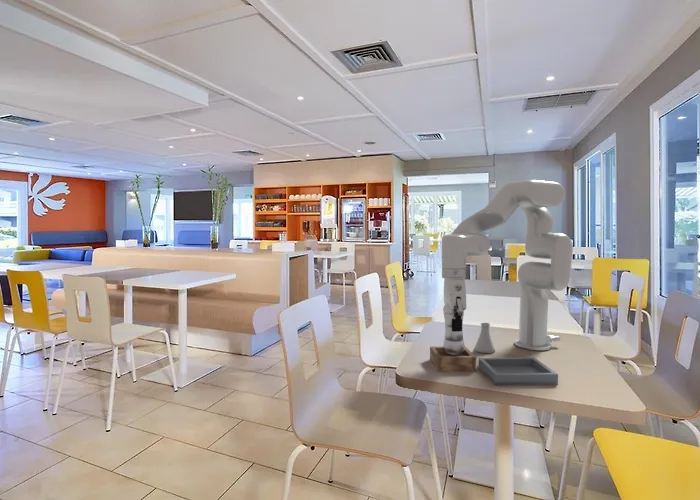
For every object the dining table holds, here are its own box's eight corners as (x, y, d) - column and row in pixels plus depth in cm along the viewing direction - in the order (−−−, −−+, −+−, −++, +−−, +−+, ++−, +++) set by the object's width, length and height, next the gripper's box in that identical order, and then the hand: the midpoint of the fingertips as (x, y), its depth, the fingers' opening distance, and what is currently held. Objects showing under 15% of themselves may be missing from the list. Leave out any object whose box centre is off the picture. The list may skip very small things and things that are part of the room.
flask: (495, 348, 144) (495, 321, 144) (495, 355, 137) (496, 327, 137) (474, 346, 147) (475, 320, 146) (473, 352, 140) (474, 325, 139)
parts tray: (533, 366, 126) (534, 357, 126) (557, 384, 112) (558, 374, 112) (478, 367, 126) (478, 358, 126) (495, 385, 112) (495, 375, 112)
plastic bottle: (461, 358, 123) (461, 296, 121) (440, 354, 127) (440, 294, 125) (467, 352, 129) (467, 292, 127) (446, 348, 132) (446, 290, 130)
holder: (464, 359, 133) (464, 346, 133) (475, 371, 122) (476, 357, 122) (429, 359, 133) (430, 346, 133) (437, 371, 122) (438, 357, 122)
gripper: (474, 276, 117) (474, 335, 119) (457, 269, 134) (457, 320, 136) (449, 277, 117) (449, 336, 118) (435, 269, 134) (435, 321, 136)
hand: (453, 327), depth 127 cm, fingers closed on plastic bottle, 6 cm apart
